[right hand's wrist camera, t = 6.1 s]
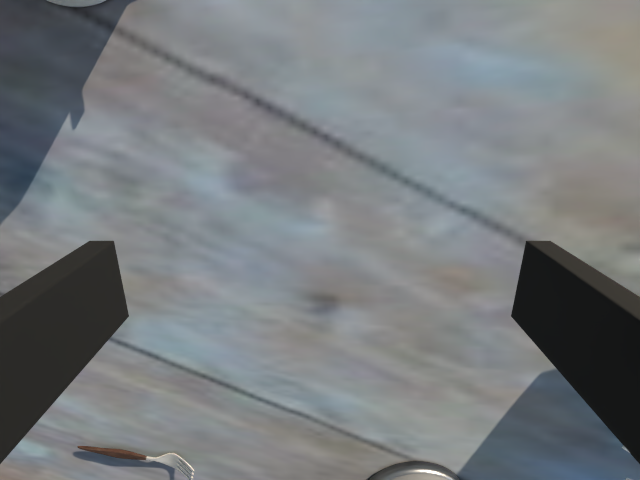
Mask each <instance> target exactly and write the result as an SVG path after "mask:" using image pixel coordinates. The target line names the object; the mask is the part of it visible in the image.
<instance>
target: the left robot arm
mask: <svg viewBox="0 0 640 480" xmlns="http://www.w3.org/2000/svg"><path fill="white" fill-rule="evenodd" d="M46 1H49V2H52V3H55V4H59V5H63V6H70V7H86V6H92V5H96V4H99V3H102V2H104V1H106V0H46Z"/></svg>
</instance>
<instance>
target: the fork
mask: <svg viewBox="0 0 640 480" xmlns="http://www.w3.org/2000/svg"><path fill="white" fill-rule="evenodd" d="M78 448H80V449H83V450H86V451H90V452H95V453H99V454H104V455H108V456H112V457H116V458H123V459H138V460H151V461H157V462H160V463H163V464H165V465H168V466H170V467H173V468H175V469H177V470H178V471H180V472H181V473H182V474H183V475H185V476H186V477H187V478H188V479H189V480H191V479H190V478H189V477H188V476H187V475H186V474H185V473H184V472H183V471H182V470H184V471H185V472H186V473H187V474H188V475H189V476H190V477H191V478H192V479H193V477H192V475H194V473H193V472H192V471H191V470H190V469H189V468H188V467H187V466H186V465H188V466H189V467H190V468H191V469H192V470H193V471H195V470H194V469H193V468H192V467H191V466H190V465H189V464H188V463H187V462H186V461H185V460H184V459H182V458H181V457H180V456H178V455H177V454H175V453H167V454H164V455H162V456H159V457H148V456H145V455H141V454H137V453H134V452H130V451H126V450H120V449H109V448H98V447H89V446H78ZM180 460H181V461H183V462H184V463H185V464H186V465H185V464H183V463H182V462H181V461H180ZM179 463H180V464H181V465H182V466H184V467H185V468H186V469H187V470H188V471H189V472H191V473H192V475H191V474H190V473H189V472H188V471H187V470H185V469H184V468H183V467H182V466H181V465H180V464H179ZM179 467H180V468H181V469H182V470H181V469H180V468H179Z"/></svg>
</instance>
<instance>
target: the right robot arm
mask: <svg viewBox="0 0 640 480" xmlns="http://www.w3.org/2000/svg"><path fill="white" fill-rule="evenodd" d="M128 317H129V315H128V310H127V305H126V300H125V295H124V290H123V285H122V280H121V275H120V270H119V265H118V260H117V255H116V250H115V245H114V241H89V242H87V243H86V244H84V245H82V246H81V247H79V248H78V249H76V250H74V251H73V252H71V253H70V254H68V255H67V256H65V257H63V258H62V259H60V260H59V261H57V262H55V263H54V264H52V265H51V266H49V267H47V268H46V269H44V270H43V271H41V272H39V273H38V274H36V275H35V276H33V277H31V278H30V279H28V280H27V281H25V282H24V283H22V284H20V285H19V286H17V287H16V288H14V289H12V290H11V291H9V292H8V293H6V294H4V295H3V296H1V297H0V464H1V462H2V461H3V460H4V459H5V458H6V457H7V456H8V454H9V453H10V452H11V451H12V450H13V449H14V448H15V446H16V445H17V444H18V443H19V442H20V441H21V439H22V438H23V437H24V436H25V435H26V434H27V433H28V431H29V430H30V429H31V428H32V427H33V426H34V425H35V423H36V422H37V421H38V420H39V419H40V418H41V417H42V415H43V414H44V413H45V412H46V411H47V410H48V408H49V407H50V406H51V405H52V404H53V403H54V402H55V400H56V399H57V398H58V397H59V396H60V395H61V394H62V392H63V391H64V390H65V389H66V388H67V387H68V385H69V384H70V383H71V382H72V381H73V380H74V379H75V377H76V376H77V375H78V374H79V373H80V372H81V371H82V369H83V368H84V367H85V366H86V365H87V364H88V362H89V361H90V360H91V359H92V358H93V357H94V356H95V354H96V353H97V352H98V351H99V350H100V349H101V348H102V346H103V345H104V344H105V343H106V342H107V341H108V339H109V338H110V337H111V336H112V335H113V334H114V333H115V331H116V330H117V329H118V328H119V327H120V326H121V325H122V323H123V322H124V321H125V320H126V319H127V318H128ZM511 317H512V318H513V319H514V320H515V321H516V322H517V323H518V325H519V326H520V327H521V328H522V329H523V330H524V331H525V333H526V334H527V335H528V336H529V337H530V338H531V339H532V341H533V342H534V343H535V344H536V345H537V346H538V348H539V349H540V350H541V351H542V352H543V353H544V354H545V356H546V357H547V358H548V359H549V360H550V361H551V362H552V364H553V365H554V366H555V367H556V368H557V369H558V371H559V372H560V373H561V374H562V375H563V376H564V377H565V379H566V380H567V381H568V382H569V383H570V384H571V385H572V387H573V388H574V389H575V390H576V391H577V392H578V394H579V395H580V396H581V397H582V398H583V399H584V400H585V402H586V403H587V404H588V405H589V406H590V407H591V408H592V410H593V411H594V412H595V413H596V414H597V415H598V417H599V418H600V419H601V420H602V421H603V422H604V423H605V425H606V426H607V427H608V428H609V429H610V430H611V431H612V433H613V434H614V435H615V436H616V437H617V438H618V439H619V441H620V442H621V443H622V444H623V445H624V446H625V448H626V449H627V450H628V451H629V452H630V453H631V454H632V456H633V457H634V458H635V459H636V460H637V461H638V462H639V464H640V297H639V296H637V295H636V294H634V293H632V292H631V291H629V290H628V289H626V288H624V287H623V286H621V285H620V284H618V283H616V282H615V281H613V280H612V279H610V278H609V277H607V276H605V275H604V274H602V273H601V272H599V271H597V270H596V269H594V268H593V267H591V266H589V265H588V264H586V263H585V262H583V261H581V260H580V259H578V258H577V257H575V256H573V255H572V254H570V253H569V252H567V251H565V250H564V249H562V248H561V247H559V246H558V245H556V244H554V243H553V242H551V241H526V245H525V250H524V255H523V260H522V265H521V270H520V275H519V280H518V285H517V290H516V295H515V300H514V305H513V310H512V315H511ZM369 480H460V479H459V478H458V477H457V476H456V475H455V474H454V473H453V472H452V471H450V470H449V469H447V468H445V467H443V466H440V465H438V464H434V463H429V462H421V461H412V462H404V463H399V464H395V465H392V466H389V467H387V468H385V469H383V470H381V471H379V472H378V473H376V474H375V475H374V476H372V477H371V478H370V479H369Z"/></svg>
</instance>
